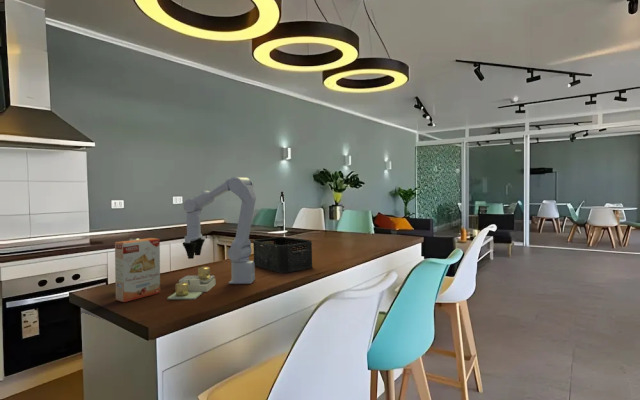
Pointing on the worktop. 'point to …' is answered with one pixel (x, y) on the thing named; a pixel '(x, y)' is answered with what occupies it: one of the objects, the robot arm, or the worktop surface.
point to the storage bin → (283, 254)
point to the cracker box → (137, 268)
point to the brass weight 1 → (182, 289)
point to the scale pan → (197, 278)
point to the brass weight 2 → (203, 272)
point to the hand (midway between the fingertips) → (194, 256)
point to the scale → (199, 285)
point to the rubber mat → (190, 296)
